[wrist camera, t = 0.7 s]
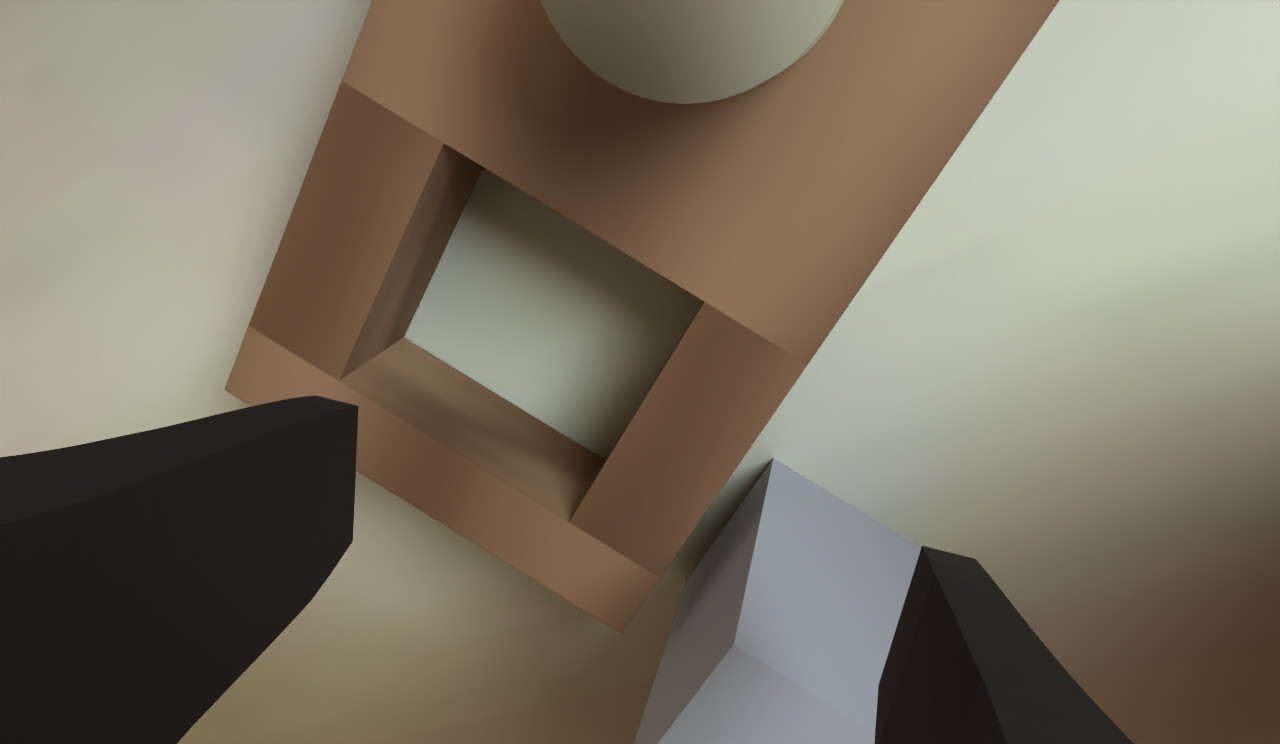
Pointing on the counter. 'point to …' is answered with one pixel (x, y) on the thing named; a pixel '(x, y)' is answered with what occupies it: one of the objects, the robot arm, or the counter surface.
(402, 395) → the base
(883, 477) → the counter surface
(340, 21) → the counter surface
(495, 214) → the counter surface
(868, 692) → the peg
